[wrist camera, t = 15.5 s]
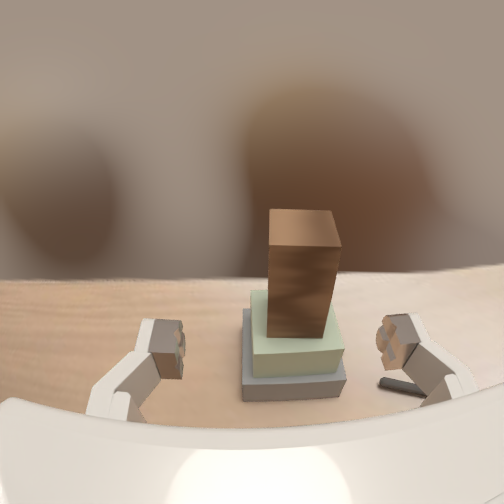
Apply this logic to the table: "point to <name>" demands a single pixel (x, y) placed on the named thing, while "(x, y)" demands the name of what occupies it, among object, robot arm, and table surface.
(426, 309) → the table surface
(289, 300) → the walnut pillar
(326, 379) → the tower base block
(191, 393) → the table surface
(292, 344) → the tower top block
